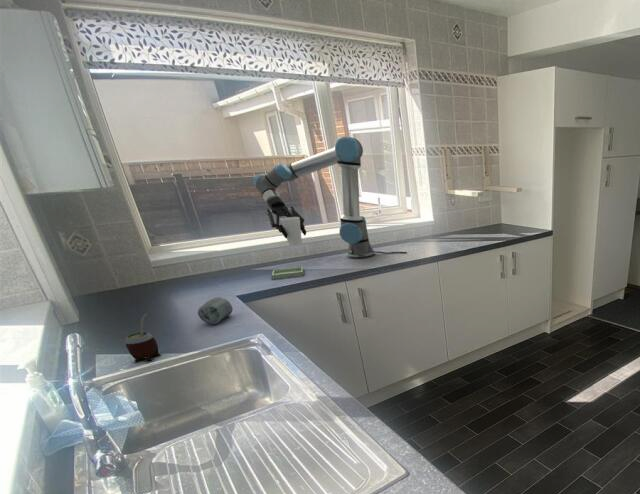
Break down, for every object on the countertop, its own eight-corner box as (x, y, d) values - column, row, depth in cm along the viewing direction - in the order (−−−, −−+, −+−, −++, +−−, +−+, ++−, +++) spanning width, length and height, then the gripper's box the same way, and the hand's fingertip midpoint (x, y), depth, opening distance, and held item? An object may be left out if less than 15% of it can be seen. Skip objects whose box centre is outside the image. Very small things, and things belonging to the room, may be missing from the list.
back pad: (303, 270, 228) (302, 266, 227) (303, 275, 218) (302, 271, 217) (274, 274, 222) (272, 270, 221) (272, 279, 213) (271, 275, 212)
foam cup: (286, 243, 225) (279, 217, 219) (304, 241, 228) (299, 216, 223) (285, 246, 217) (278, 220, 211) (305, 244, 220) (299, 218, 215)
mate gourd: (131, 359, 132) (110, 314, 125) (162, 350, 137) (143, 307, 131) (136, 366, 127) (115, 320, 121) (168, 356, 133) (148, 312, 126)
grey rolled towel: (221, 318, 153) (204, 294, 152) (200, 330, 154) (184, 307, 153) (245, 314, 167) (230, 291, 165) (226, 325, 168) (211, 303, 166)
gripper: (293, 204, 231) (314, 236, 229) (251, 208, 216) (273, 243, 214) (295, 194, 226) (317, 227, 224) (252, 198, 211) (275, 233, 208)
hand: (296, 235), depth 219 cm, fingers closed on foam cup, 9 cm apart
